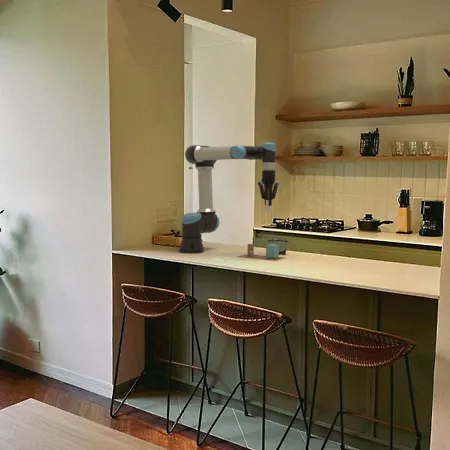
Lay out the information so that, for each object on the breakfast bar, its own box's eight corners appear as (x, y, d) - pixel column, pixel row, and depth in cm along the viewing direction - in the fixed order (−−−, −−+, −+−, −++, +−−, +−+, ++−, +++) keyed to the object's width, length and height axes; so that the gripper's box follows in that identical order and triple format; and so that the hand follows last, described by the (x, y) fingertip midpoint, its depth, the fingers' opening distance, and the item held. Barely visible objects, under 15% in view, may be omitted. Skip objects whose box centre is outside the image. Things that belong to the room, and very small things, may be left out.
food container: (287, 254, 334) (288, 238, 333) (288, 256, 328) (288, 239, 327) (267, 254, 335) (267, 237, 334) (266, 255, 329) (267, 238, 328)
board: (235, 258, 318) (235, 256, 318) (248, 255, 330) (248, 253, 330) (275, 262, 304) (275, 260, 304) (286, 259, 316) (286, 257, 316)
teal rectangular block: (265, 256, 312) (266, 245, 312) (270, 255, 317) (270, 244, 316) (274, 257, 310) (274, 245, 309) (278, 256, 314) (278, 244, 313)
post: (247, 256, 320) (247, 244, 320) (249, 255, 323) (249, 243, 322) (251, 256, 319) (251, 244, 318) (253, 256, 321) (253, 244, 320)
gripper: (255, 169, 319) (254, 211, 321) (275, 170, 312) (275, 212, 314) (261, 170, 325) (261, 210, 327) (282, 170, 318) (281, 211, 320)
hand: (267, 211), depth 320 cm, fingers closed
